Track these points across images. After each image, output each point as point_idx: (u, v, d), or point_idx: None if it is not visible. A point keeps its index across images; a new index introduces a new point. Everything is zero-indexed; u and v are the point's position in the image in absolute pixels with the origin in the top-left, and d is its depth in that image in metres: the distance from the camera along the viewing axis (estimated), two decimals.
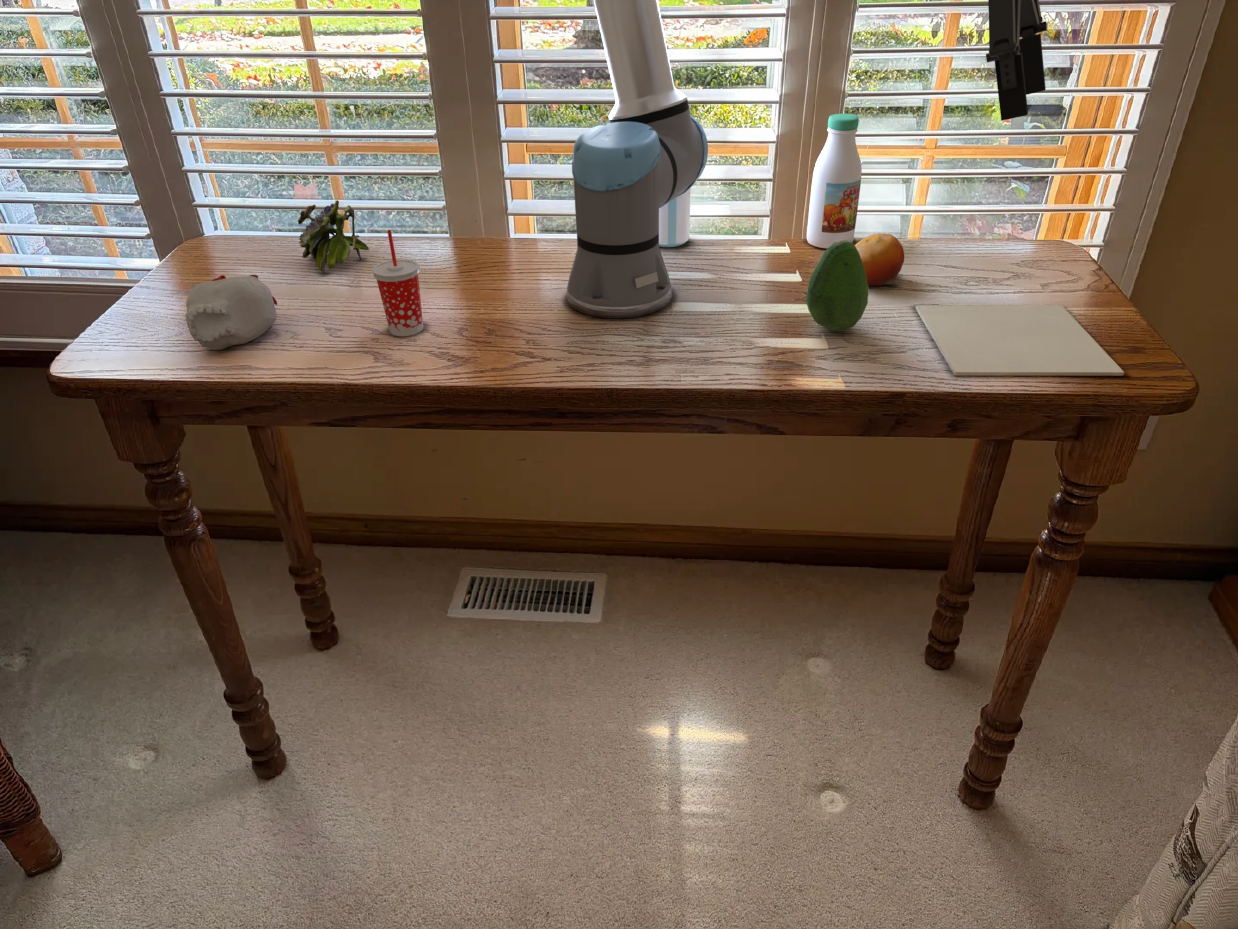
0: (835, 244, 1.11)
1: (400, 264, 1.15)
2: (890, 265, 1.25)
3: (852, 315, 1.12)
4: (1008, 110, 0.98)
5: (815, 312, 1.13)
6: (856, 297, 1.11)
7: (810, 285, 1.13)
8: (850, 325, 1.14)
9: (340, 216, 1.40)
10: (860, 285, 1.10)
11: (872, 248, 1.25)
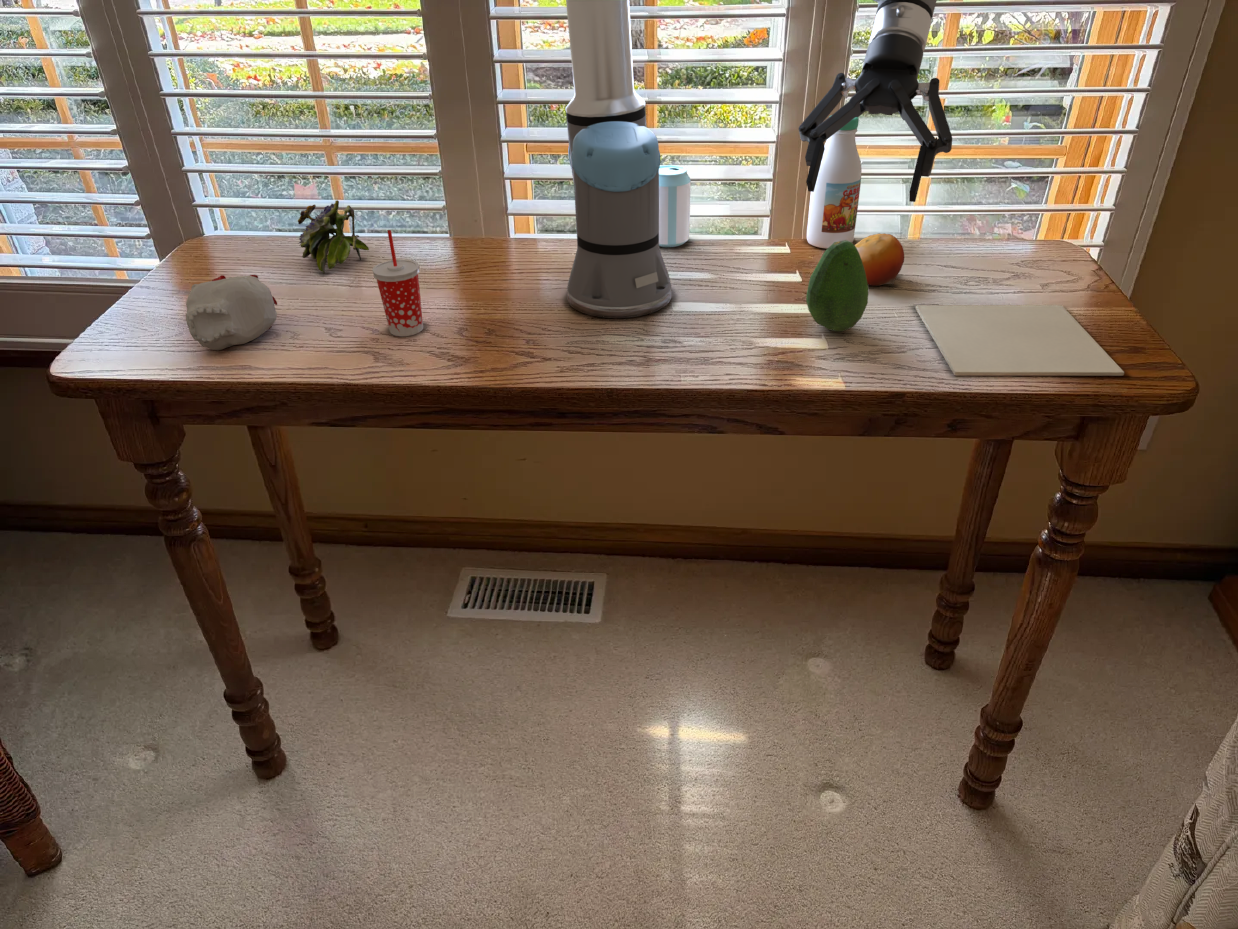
0: (835, 244, 1.11)
1: (400, 264, 1.15)
2: (890, 265, 1.25)
3: (852, 315, 1.12)
4: None
5: (815, 312, 1.13)
6: (856, 297, 1.11)
7: (810, 285, 1.13)
8: (850, 325, 1.14)
9: (340, 216, 1.40)
10: (860, 285, 1.10)
11: (872, 248, 1.25)
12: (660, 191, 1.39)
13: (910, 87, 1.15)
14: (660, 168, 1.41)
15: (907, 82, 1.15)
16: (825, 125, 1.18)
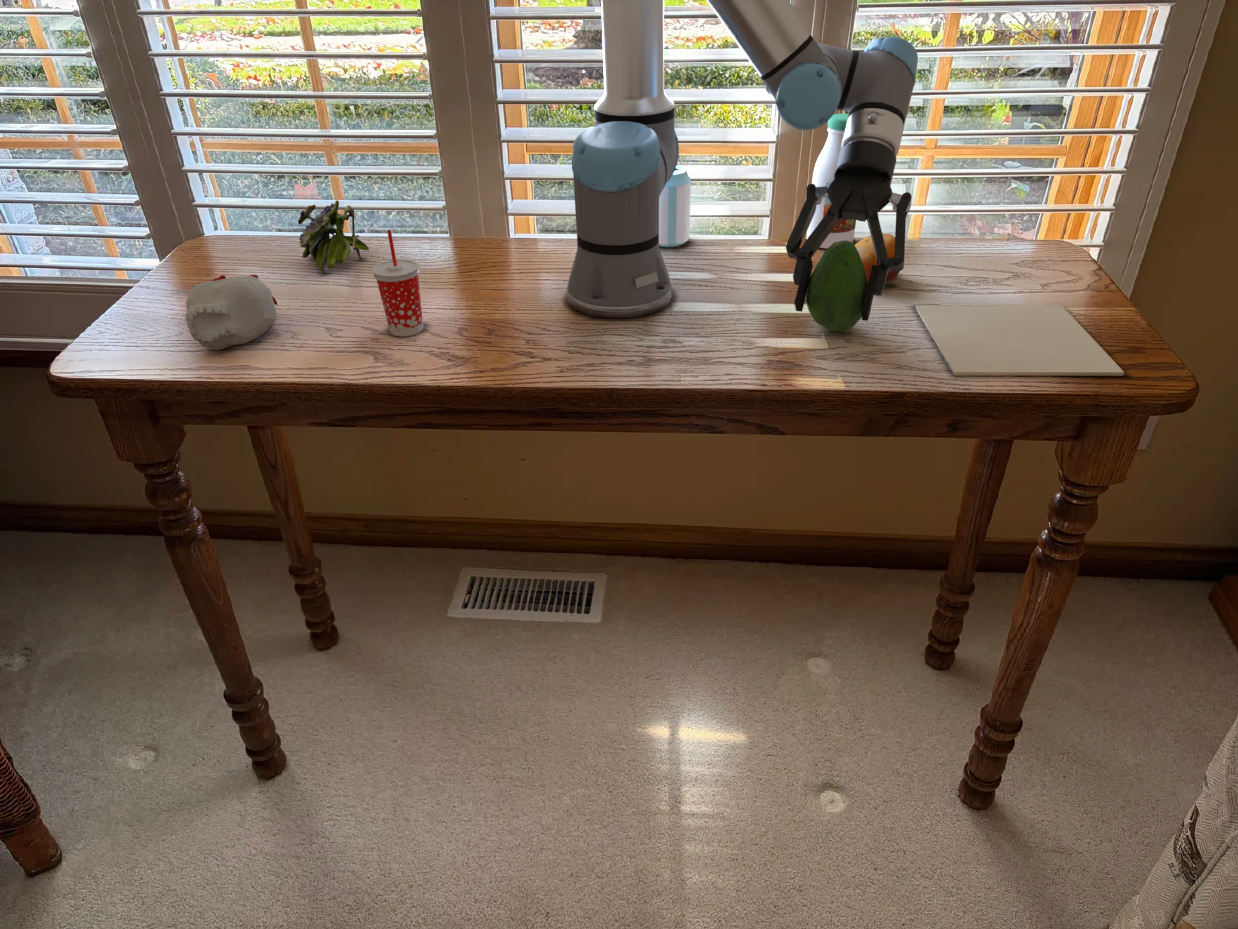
0: (835, 244, 1.11)
1: (400, 264, 1.15)
2: None
3: (852, 315, 1.12)
4: None
5: (815, 312, 1.13)
6: (856, 297, 1.11)
7: (810, 285, 1.13)
8: (850, 325, 1.14)
9: (340, 216, 1.40)
10: (860, 285, 1.10)
11: (872, 248, 1.25)
12: None
13: (883, 194, 1.12)
14: None
15: (881, 189, 1.13)
16: (811, 242, 1.14)
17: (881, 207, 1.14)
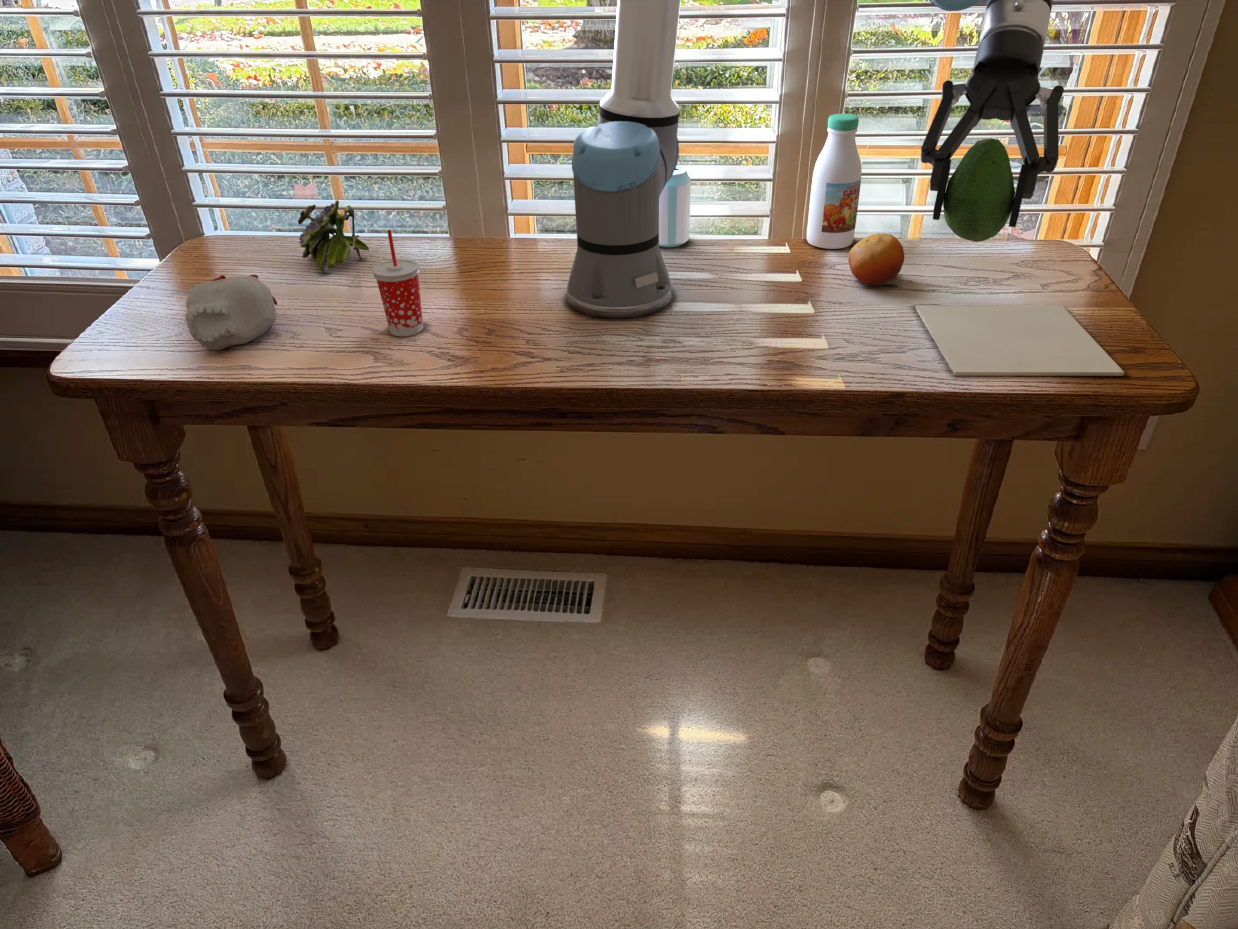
0: (980, 142, 1.01)
1: (400, 264, 1.15)
2: (890, 265, 1.25)
3: (997, 221, 1.02)
4: None
5: (955, 219, 1.03)
6: (1003, 200, 1.01)
7: (949, 189, 1.03)
8: (993, 233, 1.04)
9: (340, 216, 1.40)
10: (1009, 187, 1.01)
11: (872, 248, 1.25)
12: None
13: (1031, 89, 1.02)
14: None
15: (1028, 83, 1.03)
16: (950, 142, 1.04)
17: (1027, 104, 1.04)
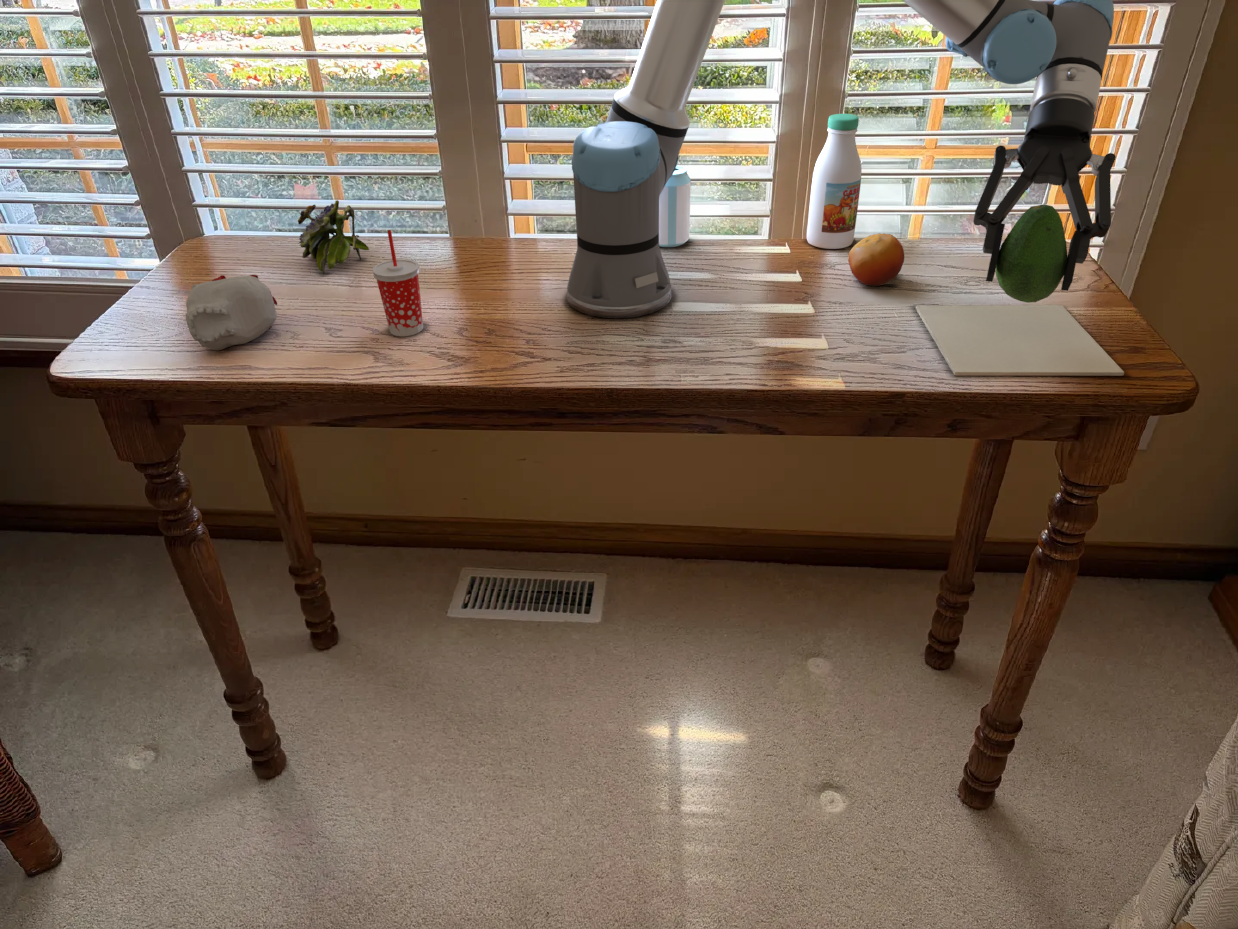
0: (1035, 208, 1.04)
1: (400, 264, 1.15)
2: (890, 265, 1.25)
3: (1050, 285, 1.05)
4: None
5: (1008, 281, 1.06)
6: (1057, 265, 1.04)
7: (1003, 252, 1.06)
8: (1045, 295, 1.06)
9: (340, 216, 1.40)
10: (1062, 252, 1.03)
11: (872, 248, 1.25)
12: None
13: (1083, 156, 1.05)
14: None
15: (1080, 150, 1.05)
16: (1003, 207, 1.07)
17: (1078, 170, 1.07)
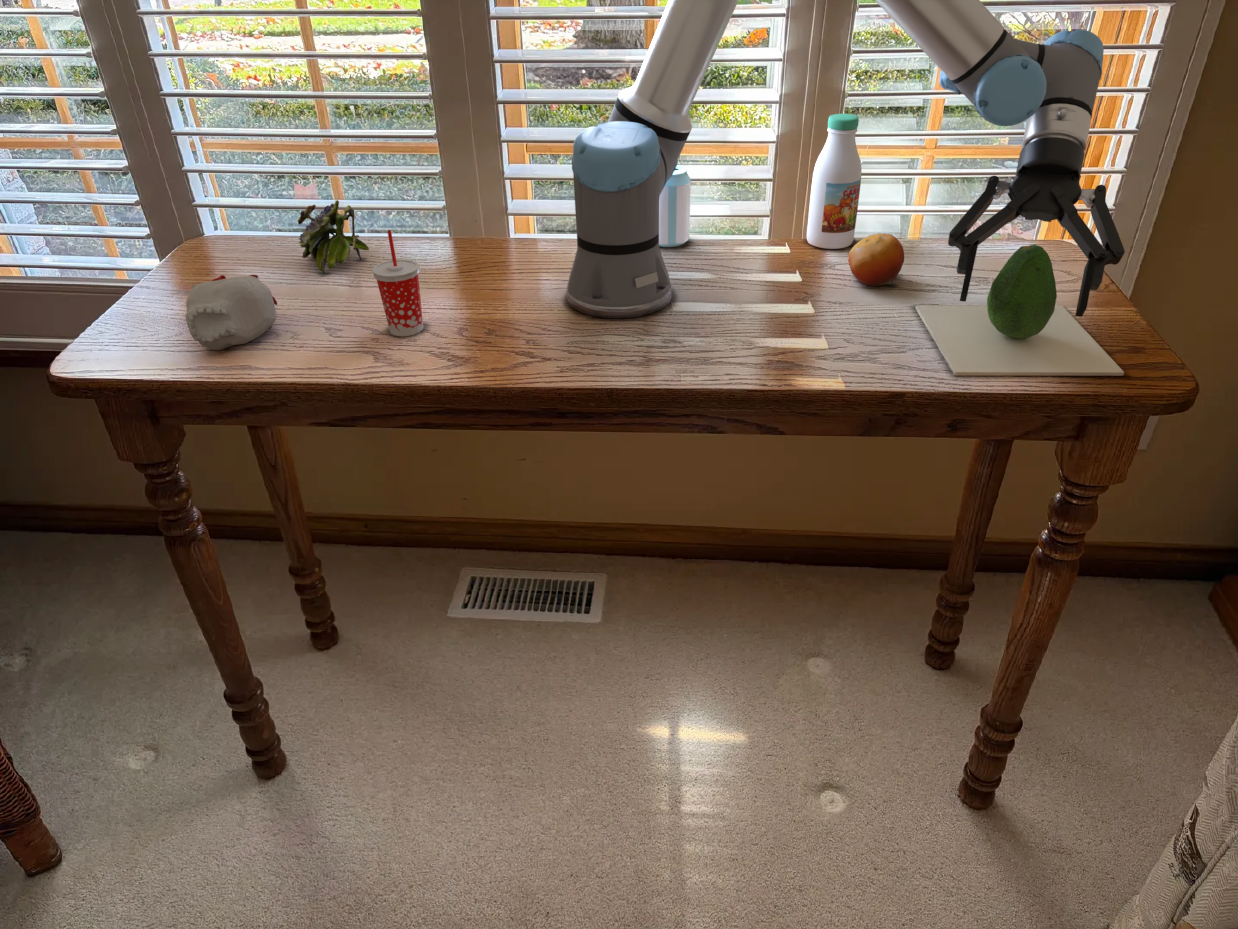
0: (1025, 248, 1.06)
1: (400, 264, 1.15)
2: (890, 265, 1.25)
3: (1040, 322, 1.08)
4: None
5: (999, 319, 1.09)
6: (1046, 304, 1.06)
7: (994, 290, 1.09)
8: (1035, 333, 1.09)
9: (340, 216, 1.40)
10: (1051, 291, 1.06)
11: (872, 248, 1.25)
12: None
13: (1073, 194, 1.08)
14: None
15: (1069, 188, 1.08)
16: (979, 232, 1.10)
17: None
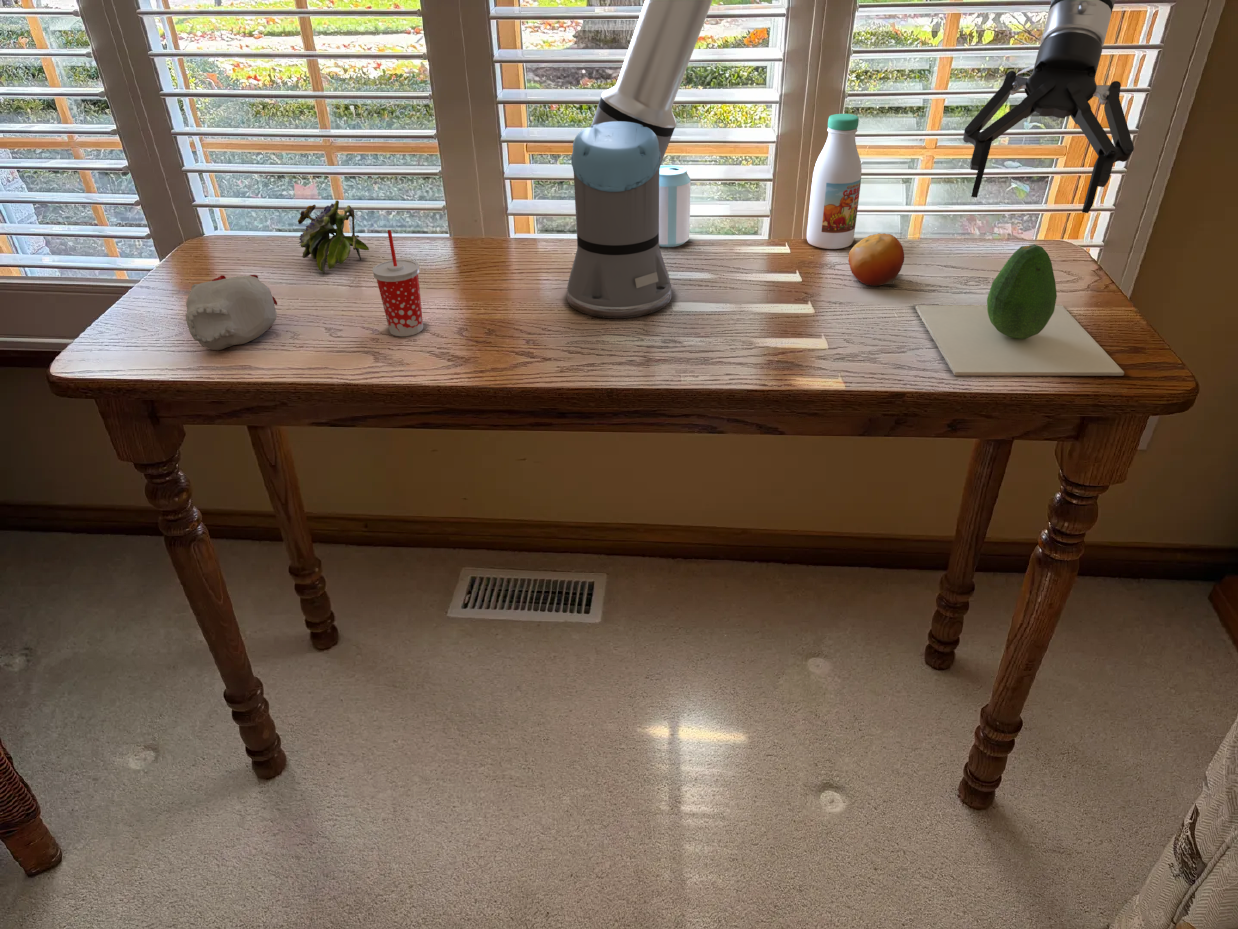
0: (1025, 248, 1.06)
1: (400, 264, 1.15)
2: (890, 265, 1.25)
3: (1040, 322, 1.08)
4: None
5: (999, 319, 1.09)
6: (1046, 304, 1.06)
7: (994, 290, 1.09)
8: (1035, 333, 1.09)
9: (340, 216, 1.40)
10: (1051, 291, 1.06)
11: (872, 248, 1.25)
12: (660, 191, 1.39)
13: (1088, 90, 1.10)
14: (660, 168, 1.41)
15: (1085, 84, 1.10)
16: (994, 128, 1.13)
17: None
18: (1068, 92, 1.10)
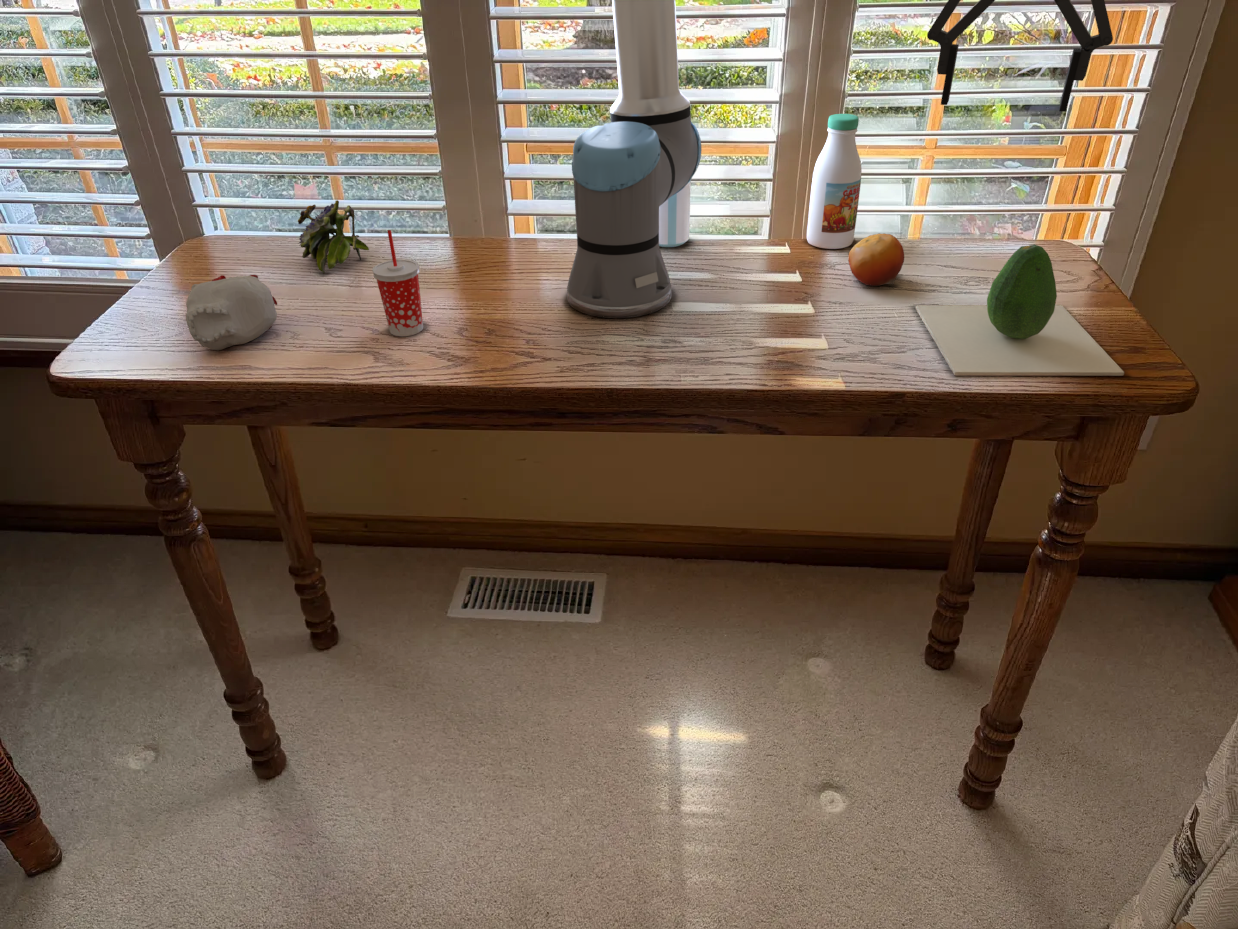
0: (1025, 248, 1.06)
1: (400, 264, 1.15)
2: (890, 265, 1.25)
3: (1040, 322, 1.08)
4: None
5: (999, 319, 1.09)
6: (1046, 304, 1.06)
7: (994, 290, 1.09)
8: (1035, 333, 1.09)
9: (340, 216, 1.40)
10: (1051, 291, 1.06)
11: (872, 248, 1.25)
12: None
13: None
14: None
15: None
16: (959, 29, 1.03)
17: None
18: None
